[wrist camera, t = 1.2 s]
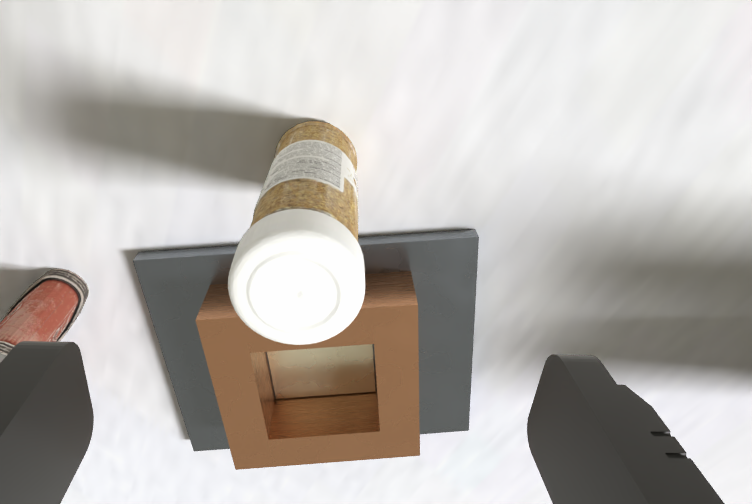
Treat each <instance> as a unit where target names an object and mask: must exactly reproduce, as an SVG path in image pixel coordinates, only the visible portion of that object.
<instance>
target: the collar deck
mask: <svg viewBox="0 0 752 504" xmlns="http://www.w3.org/2000/svg"><path fill="white" fill-rule="evenodd" d="M478 240H479V237H478V235H477V232H476V230H475V229H472V230H457V231H442V232H428V233H413V234H398V235H383V236H369V237H358V243H359V245H360V247H361V250H362V253H363V258H364V267H365V295H364V300H363V303H362V306H361V309H360V311H359V313H358V314H357V316H356V318H355V319H354V320H353V321H352V323H351V324H350V325H349V326H348V327H346V328H345V329H344V330H343V331H341V332H340V333H339V334H337V335H335V336H333V337H331V338H329V339H327V340H324V341H321V342H318V343H313V344H305V345H293V344H284V343H280V342H276V341H273V340H270V339H268V338H265V337H263V336H262V335H260V334H258V333H256V332H255V331H253V330H252V329H251V328H250V327H248V326H247V325H246V324H245V323H244V322H243V321H242V320H241V318H240V317H239V316H238V314H237V313H236V311H235V310H234V307H233V305H232V303H231V300H230V296H229V292H228V277H229V271H230V268H231V264H232V261H233V258H234V255H235V252H236V249H237V247H238V245H236V246H221V247H206V248H191V249H176V250H162V251H147V252H139V253H138V254H137V256H136V257H135V258H134V260H133V262H134V265H135V268H136V271H137V274H138V278H139V281H140V284H141V287H142V290H143V293H144V296H145V299H146V303H147V306H148V309H149V312H150V315H151V318H152V321H153V325H154V328H155V331H156V334H157V337H158V340H159V343H160V346H161V350H162V353H163V356H164V359H165V362H166V365H167V368H168V372H169V375H170V378H171V381H172V384H173V387H174V390H175V393H176V397H177V400H178V403H179V406H180V409H181V412H182V415H183V418H184V422H185V425H186V428H187V431H188V434H189V437H190V440H191V444H192V447H193V450H194V451H204V450H217V449H230V451H231V454H232V458H233V462H234V465H235V469H236V470H237V469H250V468H263V467H276V466H289V465H302V464H315V463H328V462H341V461H354V460H367V459H380V458H393V457H406V456H419V455H420V434H428V433H442V432H455V431H468V430H469V411H470V392H471V373H472V354H473V335H474V316H475V297H476V278H477V259H478Z"/></svg>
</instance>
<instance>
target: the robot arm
mask: <svg viewBox="0 0 752 504" xmlns="http://www.w3.org/2000/svg"><path fill="white" fill-rule="evenodd" d="M92 430H93V409H92V404H91V399H90V394H89V390H88V385H87V380H86V375H85V370H84V366H83V361H82V356H81V352H80V349H79V347H78V346H77V344H75V343H74V342H46V341H22V342H19V343H18V344H17V345H15V346H14V347H13V349H12V350H11V351H10V352H9V353H8V355H7V356H6V357H5V358H4V359H3V360H2V362H1V363H0V504H60V503H61V501H62V499H63V497H64V495H65V493H66V491H67V489H68V487H69V485H70V483H71V481H72V479H73V477H74V475H75V473H76V471H77V469H78V467H79V465H80V463H81V461H82V459H83V457H84V455H85V453H86V451H87V449H88V446H89V443H90V440H91V436H92ZM527 434H528V442H529V447H530V450H531V453H532V456H533V458H534V460H535V463H536V465H537V467H538V470H539V472H540V474H541V477H542V479H543V481H544V484H545V486H546V488H547V491H548V493H549V496H550V498H551V500H552V503H553V504H724V503H723V501H722V500H721V499H720V497H719V496H718V495H717V493H716V492H715V491H714V489H713V488H712V486H711V485H710V484H709V482H708V481H707V480H706V478H705V477H704V476H703V474H702V473H701V472H700V470H699V469H698V468H697V466H696V465H695V464H694V462H693V461H692V460H691V458H687V457H686V452H685V450H684V449H683V448H682V446H681V445H680V444H679V442H678V441H677V440H676V438H675V437H671V435H670V430H669V429H668V428H667V426H666V425H665V424H664V422H663V421H662V420H661V418H660V417H659V416H658V414H657V413H656V412H655V410H654V409H653V408H652V406H650V405H649V404H648V403H647V402H645V401H644V400H643V399H642V398H640V397H639V396H638V395H637V394H635V393H634V392H633V391H632V390H630V389H629V388H628V387H627V386H625V385H617V384H616V382H615V381H614V380H613V378H612V377H611V375H610V374H609V372H608V371H607V370H606V368H605V367H604V365H603V364H602V363H601V361H600V360H599V359H598V358H597V357H595V356H592V355H555V354H553V355H551V356H549V357H548V358H547V360H546V362H545V365H544V368H543V371H542V374H541V378H540V381H539V384H538V387H537V391H536V394H535V397H534V400H533V403H532V407H531V410H530V413H529V417H528V423H527Z"/></svg>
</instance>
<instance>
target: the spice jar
mask: <svg viewBox="0 0 752 504" xmlns="http://www.w3.org/2000/svg"><path fill="white" fill-rule="evenodd" d="M356 170H357V157H356V152H355V148H354V146H353V145H352V143H351V141H350V139H349V138H348V137H347V136H346V135H345V134H344V133H343V132H342V131H341V130H339V129H338V128H336V127H334V126H333V125H331V124H329V123H323V122H319V121H308V122H304V123H300V124H297V125H296V126H294V127H293V128H291V129H289V130H288V131H287V132H286V133H285V134H284V135H283V136H282V138H281V139H280V141H279V143H278V145H277V148H276V152H275V159H274V161H273V162H272V165H271V167H270V170H269V173H268V175H267V178H266V180H265V183H264V186H263V188H262V191H261V194H260V196H259V199H258V202H257V204H256V207H255V210H254V215H253V221H252V224H251V227H250V228H249V229H248V230H247V232H246V233H245V234H244V236H243V237H242V239H241V240H240V242H239V244H238V247H237V249H236V252H235V255H234V258H233V261H232V264H231V268H230V271H229V277H228V292H229V296H230V300H231V303H232V305H233V307H234V310H235V311H236V313H237V314H238V316H239V317H240V318H241V320H242V321H243V322H244V323H245V324H246V325H247V326H248V327H250V328H251V329H252V330H253V331H255V332H256V333H258V334H260V335H262V336H263V337H265V338H268V339H270V340H273V341H276V342H280V343H284V344H293V345H305V344H313V343H318V342H321V341H324V340H327V339H329V338H331V337H333V336H335V335H337V334H339V333H340V332H341V331H343V330H344V329H345V328H346V327H348V326H349V325H350V324H351V323H352V321H353V320H354V319H355V318H356V316H357V314H358V313H359V311H360V309H361V306H362V303H363V300H364V295H365V267H364V258H363V253H362V250H361V247H360V245H359V243H358V217H359V214H358V187H357V176H356Z"/></svg>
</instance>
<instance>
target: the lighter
mask: <svg viewBox="0 0 752 504" xmlns="http://www.w3.org/2000/svg"><path fill="white" fill-rule="evenodd" d="M88 293H89V289H88V286H87V284H86V283H85V281H84V280H83V279H82V278H81V277H80V276H78V275H77V274H75V273H73V272H71V271H69V270H65V269H53V270H50V271H48V272H47V273H46V274H44V275H43V276H42V277H41V278H39V279H38V280H37V281H36V282H34V283H33V284H32V285H31V286H30V287H29V288H28V289H27V290H26V291H25V292H24V293H23V294H22V295H21V296H20V298H19V299H18V300H17V301H16V302H15V303H14V304H13V305H12V306H11V307H10V309H9V310H8V312H7V314H6V315H5V317H4V319H3V320H2V322H1V323H0V363H1V362H2V360H3V359H4V358H5V357H6V356H7V355H8V353H9V352H10V351H11V350H12V349H13V347H14V346H15V345H17V344H18V343H19V342H22V341H46V342H59V341H60V340H61V339H62V338H63V337H64V336H65V334H66V333H67V332H68V330H69V329H70V328H71V326H72V325H73V323H74V322H75V320H76V319H77V317H78V316H79V314H80V312H81V310H82V308H83V306H84V304H85V301H86V299H87V297H88Z"/></svg>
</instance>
